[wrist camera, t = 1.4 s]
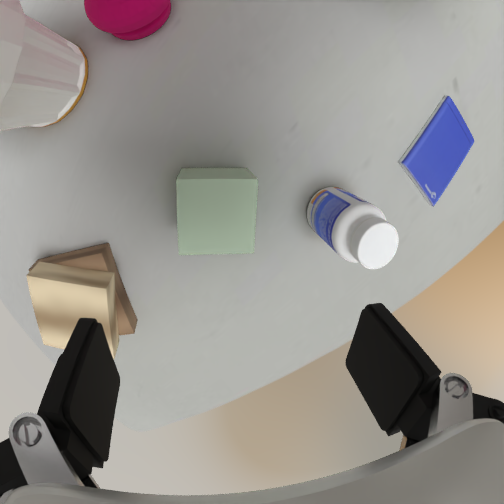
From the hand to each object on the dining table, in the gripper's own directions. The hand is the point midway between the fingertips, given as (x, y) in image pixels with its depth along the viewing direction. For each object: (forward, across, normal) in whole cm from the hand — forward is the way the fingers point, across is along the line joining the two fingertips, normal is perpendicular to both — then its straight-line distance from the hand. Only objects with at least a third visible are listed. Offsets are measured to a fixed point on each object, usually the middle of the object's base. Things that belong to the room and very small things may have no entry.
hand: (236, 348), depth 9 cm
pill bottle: (+20, -12, +1) cm, 23 cm away
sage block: (+20, 0, 0) cm, 20 cm away
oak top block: (+17, +15, +10) cm, 25 cm away
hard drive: (+20, -27, -8) cm, 35 cm away
